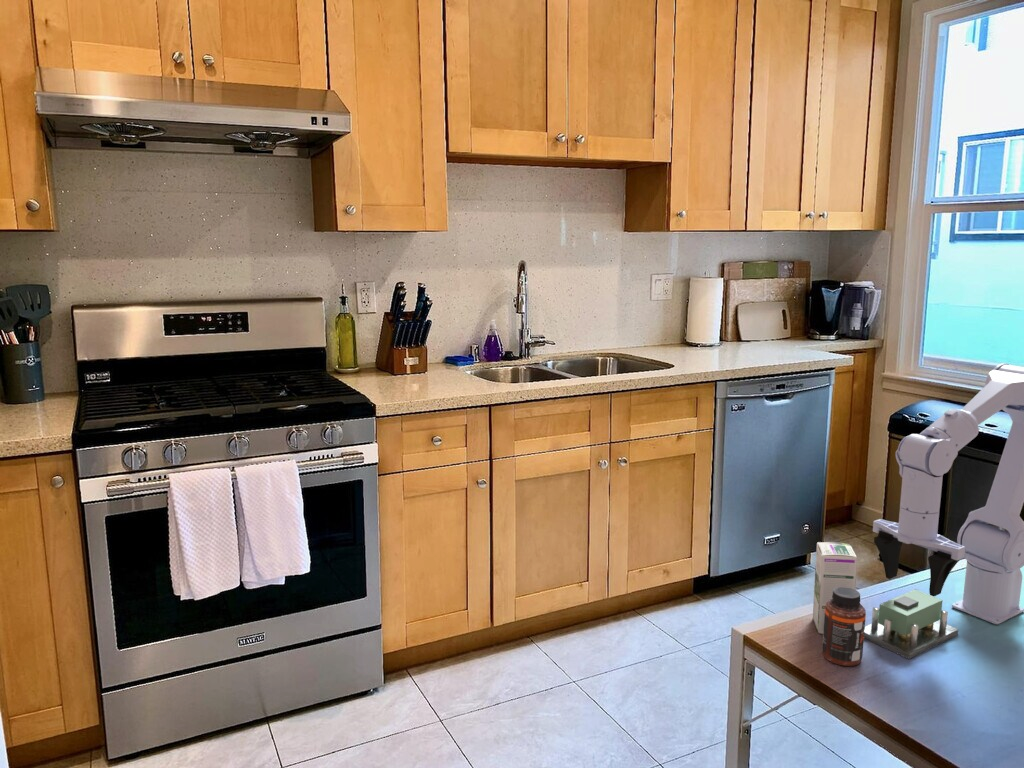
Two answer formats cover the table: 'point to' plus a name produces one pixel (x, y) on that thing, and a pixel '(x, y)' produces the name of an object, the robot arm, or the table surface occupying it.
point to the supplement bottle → (844, 627)
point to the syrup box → (831, 575)
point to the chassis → (909, 635)
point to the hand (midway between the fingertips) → (912, 585)
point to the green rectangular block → (910, 611)
